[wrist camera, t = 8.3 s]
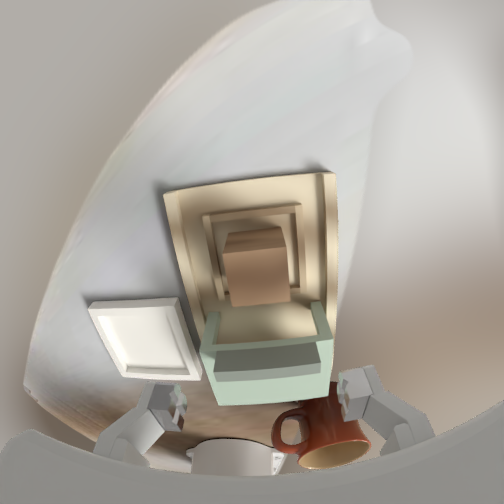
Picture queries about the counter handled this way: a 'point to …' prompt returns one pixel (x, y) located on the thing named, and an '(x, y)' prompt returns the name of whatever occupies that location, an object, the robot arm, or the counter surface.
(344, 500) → the robot arm
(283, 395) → the green stool
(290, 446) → the mug
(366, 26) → the counter surface
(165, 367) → the dish
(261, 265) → the block
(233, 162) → the counter surface
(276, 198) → the board
